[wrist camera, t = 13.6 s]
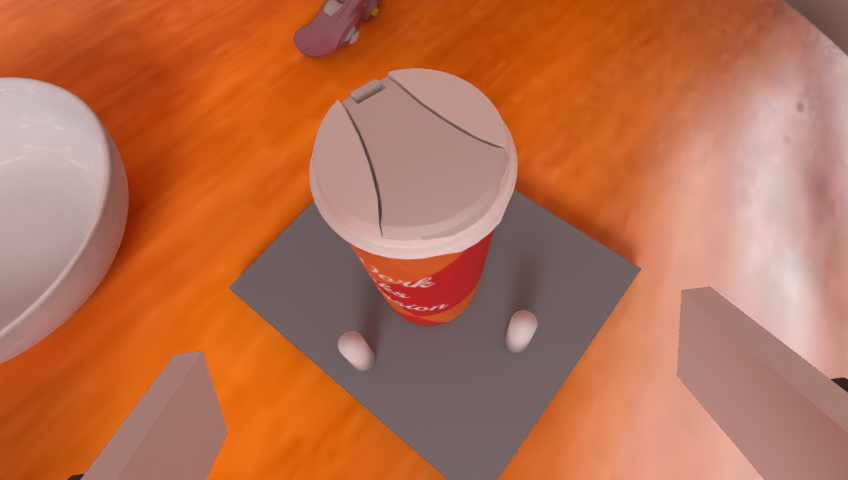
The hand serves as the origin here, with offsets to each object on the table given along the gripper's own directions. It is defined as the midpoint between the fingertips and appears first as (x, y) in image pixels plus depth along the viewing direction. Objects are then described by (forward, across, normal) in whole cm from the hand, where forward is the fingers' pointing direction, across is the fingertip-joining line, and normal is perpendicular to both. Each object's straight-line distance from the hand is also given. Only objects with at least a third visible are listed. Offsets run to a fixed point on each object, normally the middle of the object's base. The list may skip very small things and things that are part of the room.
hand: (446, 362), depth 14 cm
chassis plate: (+19, 0, -7) cm, 20 cm away
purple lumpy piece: (+36, -4, +10) cm, 38 cm away
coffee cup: (+18, 0, -6) cm, 19 cm away
